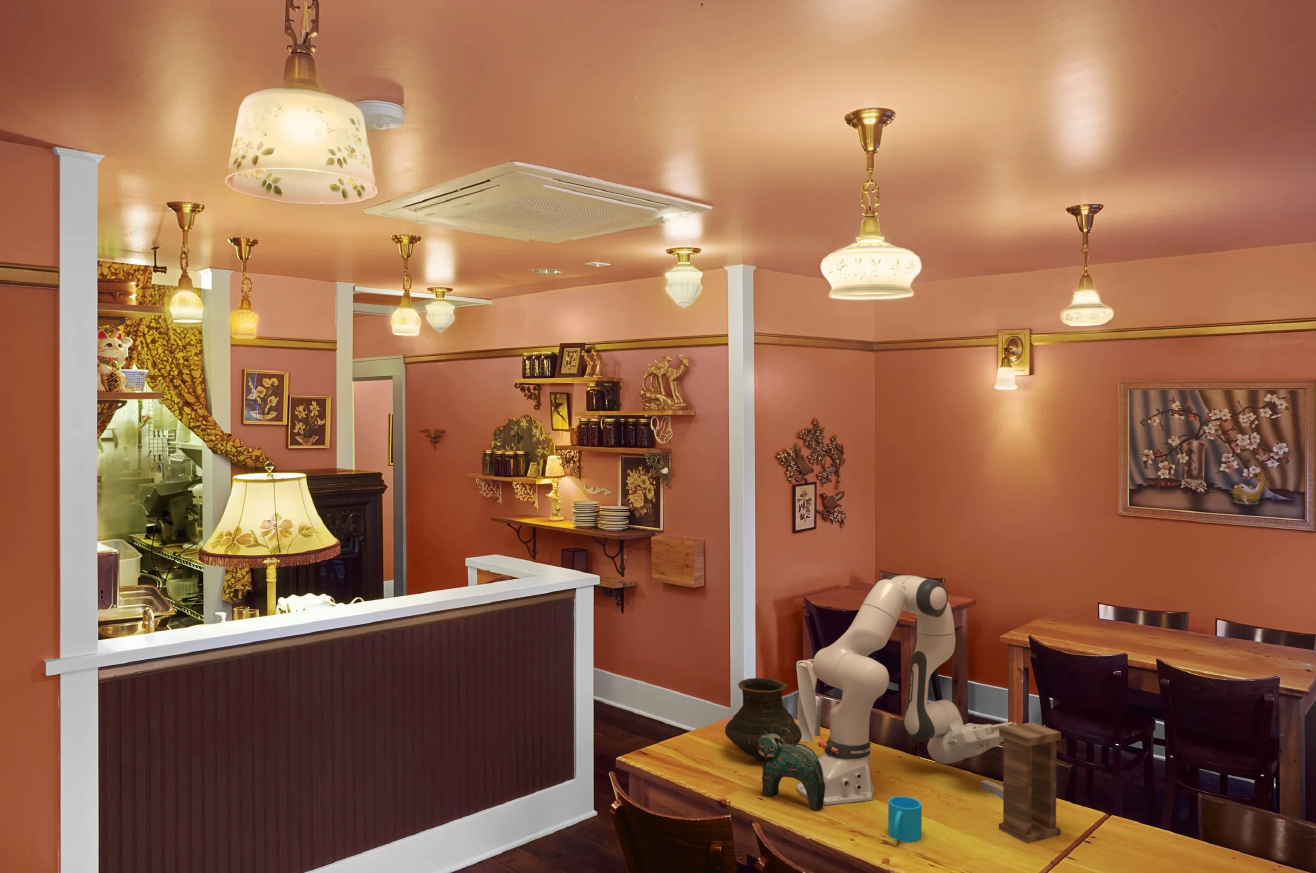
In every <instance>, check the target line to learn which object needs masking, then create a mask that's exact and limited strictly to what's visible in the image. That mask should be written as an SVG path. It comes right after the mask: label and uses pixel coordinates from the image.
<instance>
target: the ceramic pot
mask: <svg viewBox="0 0 1316 873" xmlns="http://www.w3.org/2000/svg"><path fill="white" fill-rule="evenodd" d="M737 686H738V688H739V689H740V690H741V691H742V706H740V709H739V710H738V711H737V712H736V713H735V714H734V715H733V716H732V717H731V719H730V720H729V721H728V722H727V723H726V725H725V727H724V733H725V736H726V737H727V738H728V739H729V740H730V741H731V742H732V743H733V745H735V746H736V747H737V748H738V749H740V750H741V751H742V752H743V753H745V754H747V755H749V756H750V757H752V758H753V757H754V758H756V759H761V760H765V758H764V757H762V756H761V755H760V754H759V753H758V749H757V742H758V740H759V738H760V737H761V735H762V732H763V731H765V732H766V733H767V734H772V733H774V734H777V735H779V736H780V734H781V738H782V739H783V741H784V742H785V743H786V744H800V742H799V741H800V740H801V737H802V733H801V730H800V728H799V726H798V723H796V721H795V719H794V717H793V715H792V714H791V713H790V712H789V711H788V710H787V709H786V707H785V706H784V702H783V692H784V691H785V690H787V688H788V686H787V684H786V683H785V682H782V681H779V680H776V679H771V678H763V677H753V678H746V679H742V680H740V682H738V683H737ZM783 727H785V728H787V729H788V730H789V731H790V732H791V734H790V733H789V732H788V731H787V730H786V729H782V730H781V733H780V729H781V728H783Z"/></svg>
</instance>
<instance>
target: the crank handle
mask: <svg viewBox="0 0 1316 873" xmlns="http://www.w3.org/2000/svg"><path fill="white" fill-rule="evenodd" d="M981 789H983V790H985V791H988V792H989V793H988V792H987V793H988V794H990V793H992V794H993V796H994V795H996V796H998V797H997V798H999V797H1000V798H999V799H1001V798H1002V799H1001V800H1003V786H1002V785H1000V784H998V783H996V782H993V781H991V780H989V779H984V780H980V790H981ZM983 790H982V791H983ZM985 791H984V792H985ZM992 794H991V795H992ZM996 796H995V797H996Z"/></svg>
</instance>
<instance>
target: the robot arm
mask: <svg viewBox="0 0 1316 873" xmlns="http://www.w3.org/2000/svg"><path fill="white" fill-rule="evenodd" d="M903 611H904V612H907V613H910V614H911V613H912V614H915V615H916V618H917V620H916V629H917V630H916V632H917V635H916V636H917V638H916V640H917V641H916V646H915V650H914V652H913V654H912V655H911V658H910V661H909V668H908V670H909V672H908V681H907V693H906V694H907V697H906V706H905V709H904V710H905V711H904V712H903V713H904V714H903V727H904V730H905V731H906V732H907V733H908V735H909V736H910V737H911V738H913V739H915V740H916V741H919V742H926V741H928V743H927V751H928V752H927V753H928V754H929V756H930V757H931V759H933V760H934V761H936V762H937V763H939V764H944V765H945V764H947V765H948V764H954V763H957V762H961V761H963V760H964V759H966V758H967V759H969V758H973V757H974V756H978V755H981V754H984V753H985V752H987V751H988V750H989V749H990V750H991V749H994V748H996V747H999V745H1000V743H1002V742H1003V743H1004V738H1003V737H1001V736H999V728H1003V727H1009V726H1014V725H1018V724H1017V722H1012V721H1009V722H1003V723H999V724H991V723H986V724H977V723H971V722H969V723H966V724H965V723H964V718H963V715H962V714H961V711H960V709H959V708H958V706H957V705H956V704H955V703H954V702H953V701H951V700H949V699H946V698H945V699H941V700H936V701H932V702H929V703H928V696H929V680H930V678H931V675H932V674H933V673H934V671H935V670H936V669H937V668H939V666H941V665H942V664H944V663H946V662H947V661H948V660H949V659H950V658H951V657H952V655H953V654H954V652H955V648H956V630H955V622H954V615H953V611H952V608H951V604H950V602H949V595H948V592H947V589H946V587H945V585H944V584H943V583H942V582H941V581H938V580H935V579H933V578H925V577H921V576H918V575H909V574H907V575H906V574H905V575H903V574H893V575H890V576H888V577H886V578H884V579H881V580H879V581H877V582H876V584H875V585H874V586H873V587H872V588H871V590H870V591H869V592H868V594H867V596H866V597H865V599H864V600H863V603H862V604H861V606H860V608H859V609H858V612H857V614H856V616H855V617H854V619H853V621H852V623H851V625H850V626H849V627H848V629H847V630H846V631H845V632H844V633H843V634H842V635H841V636H840V637H839V638H838V639H837V640H836V641H834V642H833V643H831V645H829V646H828V645H827V647H823V648H821V649H820V650H818V651H817V652H816V654H815V655H814V658H813V661H812V664H813V671H814V674H815V675H816V677H817V679H819V680H820V681H822V682H823V683H825V684H826V685H827V686H830V687H832V688H833V687H834V688H836V689H839V690H841V692H842V697H841V700H840V703H837V704H836V705H834V706H833V707H832V708H831V709H830V713H829V736H828V739H827V741H824V740H822V739H820V740H819V742H818V743H817V746H818V747H819V748H821V749H824V752H822V753H821V755H819V757H818V756H817V758H818V760H819V762H820V764H821V767H822V771H823V777H824V782H825V793H824V802H823V806H825V805H826V806H829V805H837V804H839V805H840V804H848V803H855V802H858V803H859V802H865V801H873V794H874V793H875V787H874V784H873V779H872V774H871V765H870V755H871V740H870V737H869V736H870V717H871V711H872V708H873V706H874V703H875V701H877V699H878V698H880V697H881V696H882V695H884V694H885V692H886V691H887V689H888V687H889V683H890V675H889V671H888V669H887V667H886V666H884V664H882V663H880V662H879V661H877V660H875V659H873V658H872V657H869V655H871V654H872V653H874V652H876V651H879V650H881V649H883V648H884V647H885V646H886V645H887V643H888V641H889V639H890V637H891V635H892V634H893V631H894V629H895V627H896V625H897V623H898V621H899V619H900V617H901V614H902V612H903ZM795 789H796V791H797V792H798V794H800V795H801V796H803V797H805V798H806V799H808V797H807V793H806V790H805V787H804V785H803V784H802V783H801V782H800V783H798V784H796V788H795Z"/></svg>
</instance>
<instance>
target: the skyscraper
mask: <svg viewBox="0 0 1316 873" xmlns="http://www.w3.org/2000/svg"><path fill="white" fill-rule="evenodd" d="M813 660H814V658H813V659H810V658H809V659H807V660H802V659H801V660H798V661H797V662H796V672H797V685H798V698H797V725H798V726H799V728H800V730H801V733H802V737H801V740H803V741H813V742H814V736H815V735H816V736H820V737H821V724H820V723H821V714H820V705H819V703H820V702H819V700H817V698H816V697H817V696H816V686H817V679H818V678H817V677H816V675H815V674H814V671H813Z"/></svg>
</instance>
